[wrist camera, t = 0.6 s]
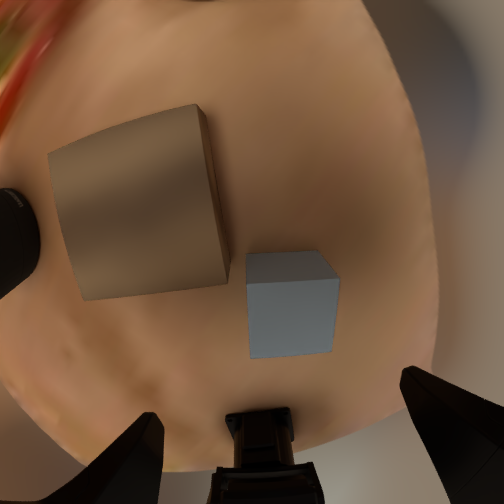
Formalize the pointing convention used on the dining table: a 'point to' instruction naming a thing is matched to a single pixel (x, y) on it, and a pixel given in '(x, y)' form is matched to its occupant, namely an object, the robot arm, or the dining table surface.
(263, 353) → the cube
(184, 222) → the walnut block
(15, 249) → the pen holder
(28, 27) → the dining table surface
